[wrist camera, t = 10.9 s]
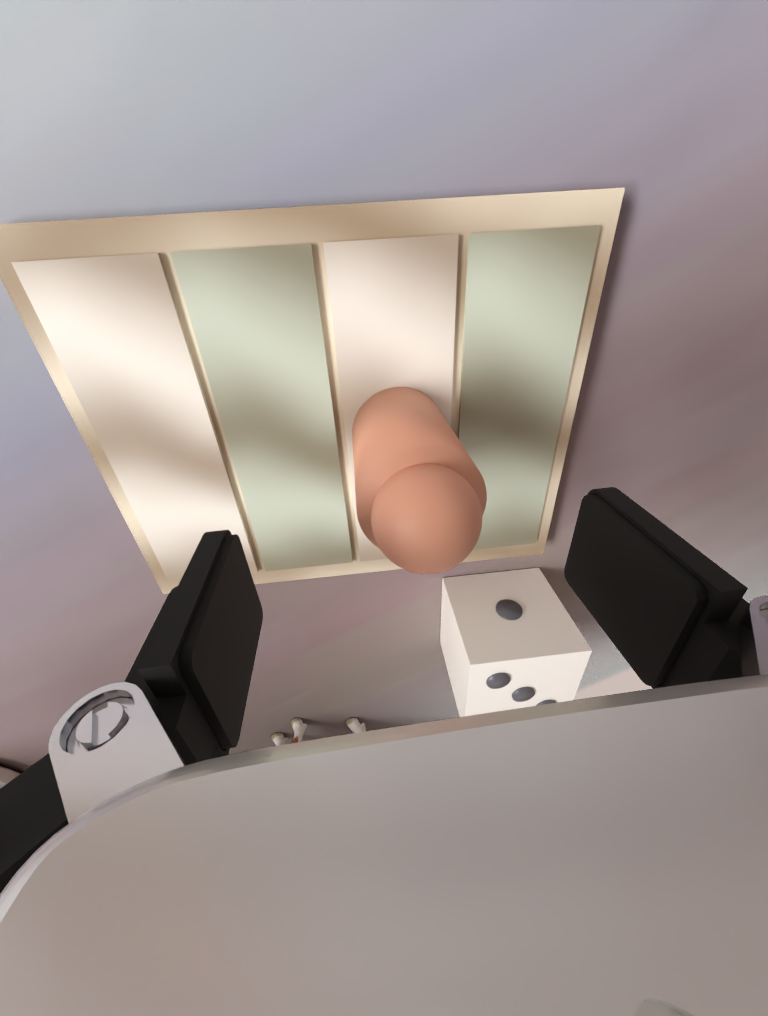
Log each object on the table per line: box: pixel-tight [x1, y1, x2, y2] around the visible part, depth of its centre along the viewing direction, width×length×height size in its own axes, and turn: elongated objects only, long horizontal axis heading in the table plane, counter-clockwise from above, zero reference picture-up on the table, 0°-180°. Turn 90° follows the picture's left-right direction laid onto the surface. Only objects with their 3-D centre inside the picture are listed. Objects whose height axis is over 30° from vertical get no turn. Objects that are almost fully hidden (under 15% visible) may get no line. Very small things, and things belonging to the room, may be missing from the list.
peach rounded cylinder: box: [352, 387, 487, 574], centre depth 13 cm, size 4×4×8 cm
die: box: [440, 568, 592, 717], centre depth 23 cm, size 6×6×6 cm
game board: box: [0, 188, 625, 594], centre depth 17 cm, size 16×21×1 cm
